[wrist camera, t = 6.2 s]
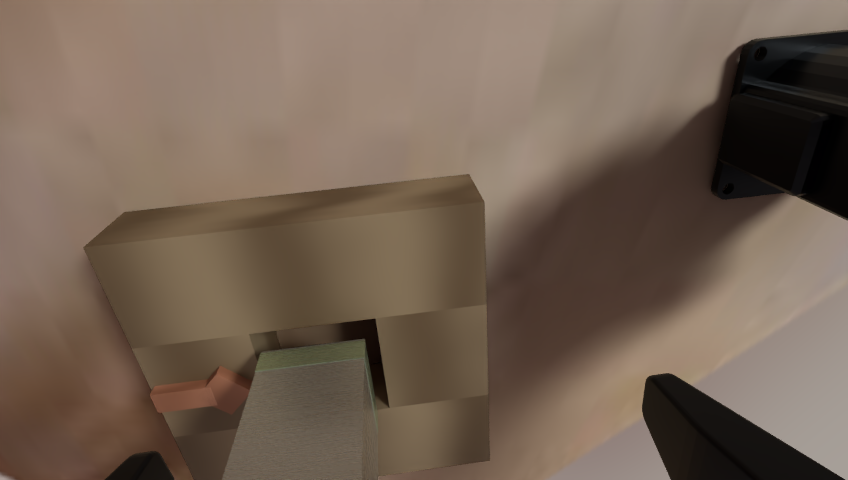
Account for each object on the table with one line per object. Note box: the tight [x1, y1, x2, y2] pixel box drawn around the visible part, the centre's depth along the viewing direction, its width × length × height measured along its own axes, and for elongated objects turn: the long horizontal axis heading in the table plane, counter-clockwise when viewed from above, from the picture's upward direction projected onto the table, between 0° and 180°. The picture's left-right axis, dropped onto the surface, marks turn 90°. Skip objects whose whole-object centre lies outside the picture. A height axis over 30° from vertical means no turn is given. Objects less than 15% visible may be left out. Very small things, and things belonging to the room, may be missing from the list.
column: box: [222, 339, 378, 480], centre depth 16 cm, size 4×4×8 cm
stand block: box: [83, 174, 490, 480], centre depth 21 cm, size 14×14×4 cm
